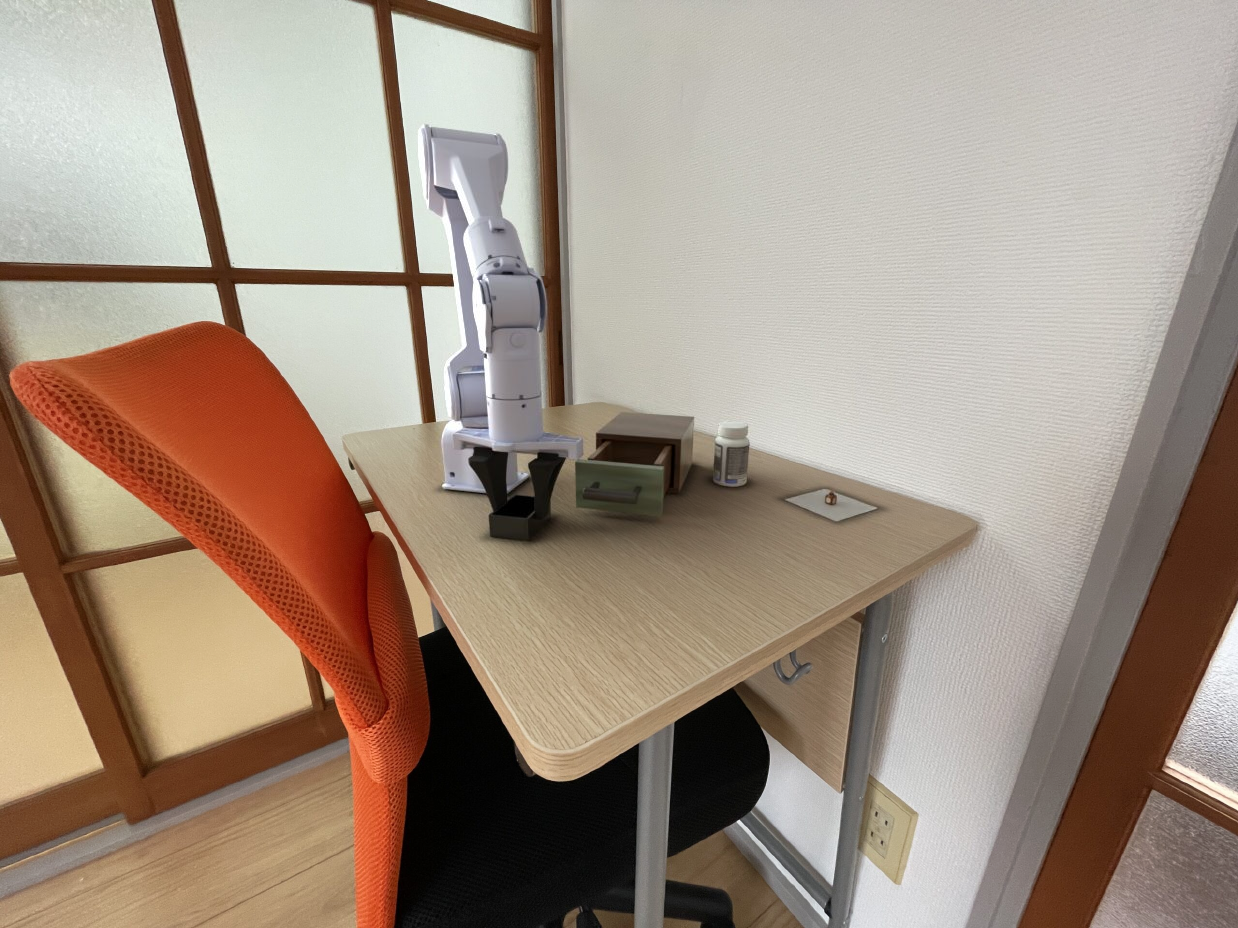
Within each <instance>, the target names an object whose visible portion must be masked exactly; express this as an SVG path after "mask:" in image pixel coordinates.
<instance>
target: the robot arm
mask: <svg viewBox="0 0 1238 928" xmlns="http://www.w3.org/2000/svg"><path fill="white" fill-rule="evenodd" d="M417 148H418V151H417V152H418V162H419V170H420V175H421V182H422V183H421V184H422V192H423V197H424V200H425V201H426V206H427V207H426V208H427V210H429V211H430V212H432V213H433V214H435V215H436V216H437V217H439V218H440V219H441V220H442V223H443V226H444V229H445V233H446V236H447V241H448V247H449V254H450V262H451V269H452V276H453V285H454V293H455V299H456V307H457V315H458V323H459V330H460V337H461V345H462V347H461V348H460V349H459V350H458V351H457V352H455V354H453V355H452V356H451V357H449V358H448V359H447V360H446V362H445V366H444V368H443V376H444V397H445V404H446V409H447V413H448V417H449V418H450V419H451V420H450V421H449V422H448V423H447V424H446V425H445V427H444V428H443V430H442V434H441V451H442V452H441V453H442V464H443V470H444V471H443V472H444V473H443V474H444V482H445V483H443V484H442V489H444V490H452V491H453V490H454V491H461V492H463V491H464V492H472V493H480V494H486V495H487V498H488V501H489V504H490V506H491V510H492V512H493V511H494V510H495V509H497V508H498V507H499V506H501V505H502V504H503V503H504V502H506V501H507V500H508V499H509V497H508V494H509V493H510V492H511V491H513V490H514V489H515V488H516V487H518V486H519V485H520V484H522V483H523V482H524V481H526V480H527V479H528V478H529V477H530V478H531V482H532V488H533V496H534V507H535V514H536V520H543V519H544V518H545V517H546V516H547V515H548V513H549V505H550V500H551V501H552V496H553V492H554V488H555V486H556V483H557V479H558V477H559V474H560V472H561V470H562V468H563V465H564V463H565V462H566V460H567V459H568V460H569V461H577V460H578V459H581V458H582V457H583V456H584V438H583V437H576V436H575V437H574V436H568V435H563V434H557V433H553V432H547V431H544V423H543V421H544V419H543V394H542V369H541V348H540V347H541V342H540V341H541V340H540V334H541V333H543V331H544V330H545V327H546V324H547V318H548V317H547V315H548V301H547V294H546V293H547V292H546V287H545V284H544V280H543V278H542V276H541V275H540V274H539V273H537V272H535V268H534V267H529V266H528V264H527V260H526V257H525V254H524V250H523V247H522V243H521V240H520V237H519V233H518V230H517V229H516V227H515V225H514V224H513V223H512V222H511V221H510V220H508V219H506V218H505V217H503V210H502V204H503V201H504V195H505V190H506V185H507V182H508V176H509V154H508V147H507V144H506V141H505V140H504V138H503V136H502V135H501V134H500V133H497V132H495V133H493V134H492V133H485V132H478V131H477V132H476V131H469V130H462V129H461V130H460V129H453V128H445V127H439V126H430V125H429V124H426V123H423V124H422V125H421V127H420V128H419V129H418V134H417ZM518 454H523V455H532V456H533V455H534V456H535V455H536V458H535V457H534V459H532V460H531V461H529V462H528V463H527V468H528V472H529V473H528V472H519V471H518V470H519V468H518Z"/></svg>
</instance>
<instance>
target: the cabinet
mask: <svg viewBox="0 0 1238 928" xmlns="http://www.w3.org/2000/svg"><path fill="white" fill-rule="evenodd" d="M694 431H695V416H690V415H689V416H688V415H674V414H673V415H672V414H658V413H657V414H656V413H643V412H628V411H627V412H626V411H620V412H619V413H618V414H617V415H616V416H615V417H614V418H612V419H611V420H610V421H609V422H607V423H606V424H605V425H604V426H603V427H601V428H600V429H599V430H597V432H595V451H596V450H597V449H598V448H599V447H600V446H601V445H602V444H603V443H604V442H605V441H606V440H607V439H610V440H623V441H636V442H649V443H662V444H674V452H673V478H672V481H671V483H670V485H669V487H668V489H667V491H666V493H667V494H675V495H676V494H678V495H679V494H680V492H681V490H682V488H683V485H684V483H685V481H686V479H687V476H688V473H689V471H690V469H691V467H692V465H693V449H694ZM666 493H665V494H666Z"/></svg>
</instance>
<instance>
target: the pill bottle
mask: <svg viewBox="0 0 1238 928" xmlns="http://www.w3.org/2000/svg"><path fill="white" fill-rule="evenodd" d="M717 432H718V433H717V434H718V435H717V436H716V438H715V439H714V452H713V453H714V454H713V455H714V456H713V471H712V472H713V473H712V481H713V482H714V483H715V484H717V485H719V486H722V487H723V486H724V487H729V488H736V487H741V486H744V485H745V484H747V480H748V468H749V455H750V445H751V443H750V439H749V438H748V437H747V436H748V434H749V425H748V423H745V422H742V421H735V420H734V421H731V420H730V421H721V422H720V423H718V429H717Z"/></svg>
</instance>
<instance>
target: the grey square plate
mask: <svg viewBox="0 0 1238 928" xmlns="http://www.w3.org/2000/svg"><path fill="white" fill-rule="evenodd" d="M784 501H786V502H788V503H791V504H793V505H796V506H798V507H800V508H802V509H806V510H808V511H810V512H812V513H815V514H817V515H820V516H821V517H825V518H827V519H829V520H832V521H833V522H840V521H843V520H846V519H850V518H853V517H855V516H858V515H861V514H864V513H869V512H871V511H874V510H878V507H876V506H873V505H870V504H868V503H865V502H862V501H859V500H857V499H854V498H852V497H848V496H846V495H843V494H840V493H837V492H836V491H834V490H833V489H831V490H830V489H827V488H823V489H819V490H815V491H812V492H807V493H803V494H800V495H797V496H796V495H795V496H792V497H789V498H785V499H784Z"/></svg>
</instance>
